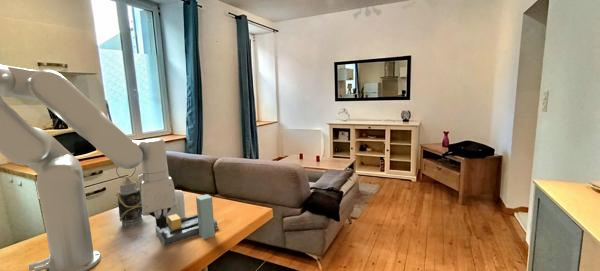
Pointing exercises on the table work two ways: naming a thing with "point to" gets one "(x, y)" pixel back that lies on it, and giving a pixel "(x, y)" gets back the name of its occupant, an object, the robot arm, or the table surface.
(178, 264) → the table surface
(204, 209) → the post
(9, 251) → the table surface
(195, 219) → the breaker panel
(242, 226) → the table surface
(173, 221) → the block
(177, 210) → the photo printer
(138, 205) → the lantern
